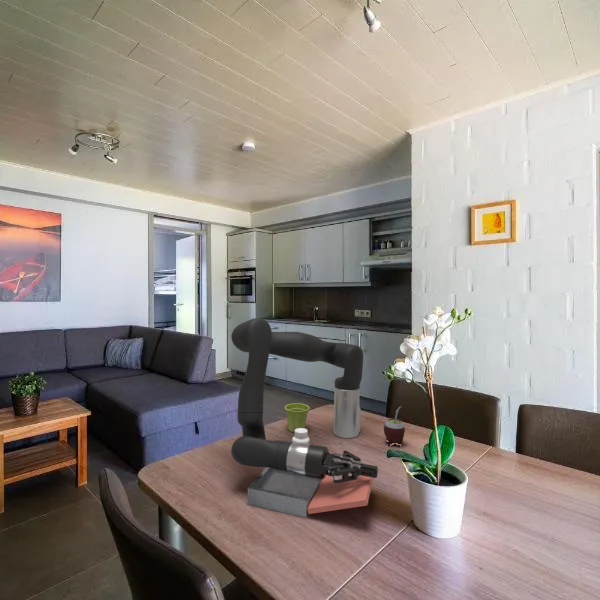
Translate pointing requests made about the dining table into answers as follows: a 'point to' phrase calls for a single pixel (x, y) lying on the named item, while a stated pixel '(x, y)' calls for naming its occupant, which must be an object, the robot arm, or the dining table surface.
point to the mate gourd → (394, 430)
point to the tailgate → (340, 494)
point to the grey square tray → (283, 491)
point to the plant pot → (296, 415)
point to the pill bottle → (301, 436)
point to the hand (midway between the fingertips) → (377, 472)
